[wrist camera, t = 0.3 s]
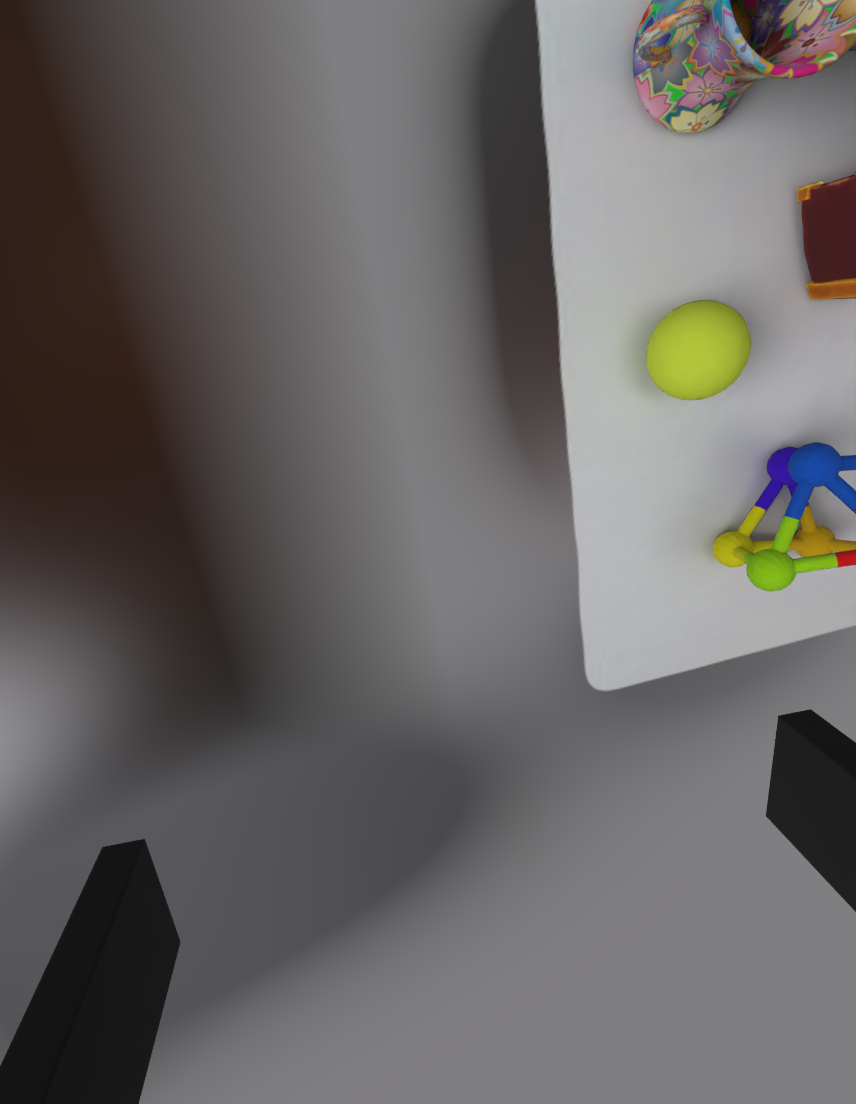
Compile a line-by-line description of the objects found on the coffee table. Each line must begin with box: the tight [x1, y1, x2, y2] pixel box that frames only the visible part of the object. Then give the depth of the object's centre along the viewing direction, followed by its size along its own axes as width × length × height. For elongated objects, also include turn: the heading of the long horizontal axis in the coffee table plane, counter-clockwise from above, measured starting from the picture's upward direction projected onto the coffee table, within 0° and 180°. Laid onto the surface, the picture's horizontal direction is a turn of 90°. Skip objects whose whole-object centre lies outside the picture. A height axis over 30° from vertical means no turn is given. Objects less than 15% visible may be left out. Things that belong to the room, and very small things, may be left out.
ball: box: [646, 300, 751, 400], centre depth 42 cm, size 7×7×7 cm
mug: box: [633, 0, 856, 133], centre depth 34 cm, size 12×9×11 cm
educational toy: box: [713, 443, 856, 591], centre depth 43 cm, size 16×13×15 cm
